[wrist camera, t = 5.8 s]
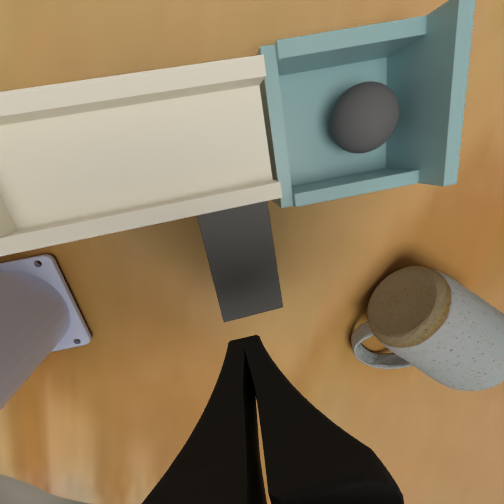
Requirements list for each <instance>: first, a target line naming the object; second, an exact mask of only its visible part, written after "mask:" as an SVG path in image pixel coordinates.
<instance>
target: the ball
mask: <svg viewBox="0 0 504 504" xmlns="http://www.w3.org/2000/svg"><path fill="white" fill-rule="evenodd" d="M399 114H400V108H399V103H398V99H397V97H396V95H395V94H394V92H393V91H392V90H391V89H390V88H389V87H387V86H386V85H384V84H382V83H379V82H373V81H369V82H362V83H359V84H356V85H354V86H352V87H351V88H349V89H348V90H346V91H345V92H344V93H343V94H342V95H341V96H340V97H339V99H338V100H337V102H336V103H335V105H334V107H333V109H332V112H331V116H330V131H331V135H332V137H333V139H334V141H335V142H336V144H337V145H338V146H339V147H341V148H342V149H343V150H345V151H348V152H350V153H358V154H360V153H367V152H370V151H373V150H375V149H377V148H379V147H380V146H381V145H383V144H384V143H385V142H386V141H387V140H388V139H389V138H390V137H391V135H392V134H393V132H394V130H395V128H396V126H397V124H398V120H399Z"/></svg>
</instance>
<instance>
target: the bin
mask: <svg viewBox="0 0 504 504" xmlns="http://www.w3.org/2000/svg"><path fill="white" fill-rule="evenodd" d="M474 9H475V0H449V1H447V2H446V3H444V4H443V5H441V6H440V7H439V8H437V9H436V10H434V11H433V12H431V13H430V14H428V15H426V16H420V17H414V18H408V19H402V20H396V21H390V22H384V23H378V24H372V25H366V26H360V27H354V28H348V29H342V30H336V31H330V32H323V33H317V34H311V35H305V36H299V37H293V38H287V39H281V40H277V41H276V43H275V44H273V45H267V46H261V47H260V48H259V51H258V54H257V55H263V54H264V61H265V69H266V77H265V78H264V80H263V81H262V82H261V84H260V85H259V86H260V93H261V100H262V108H263V115H264V122H265V129H266V136H267V143H268V150H269V157H270V165H271V172H272V179H273V180H275V181H279V182H280V183H281V191H282V198H278V199H273V200H272V201H274V202H275V203H276V204H277V205H278V206H280V207H281V208H285V207H290V206H295V207H299V206H304V205H309V204H314V203H319V202H324V201H330V200H335V199H340V198H345V197H350V196H355V195H360V194H365V193H370V192H375V191H380V190H385V189H390V188H396V187H401V186H406V185H411V184H416V183H422V184H430V185H438V186H447V185H452V184H457V176H458V166H459V156H460V146H461V137H462V127H463V117H464V107H465V97H466V87H467V78H468V68H469V58H470V48H471V38H472V28H473V18H474ZM369 81H373V82H379V83H382V84H384V85H386V86H387V87H389V88H390V89H391V90H392V91H393V92H394V94H395V95H396V97H397V99H398V103H399V108H400V114H399V120H398V124H397V126H396V128H395V130H394V132H393V134H392V135H391V137H390V138H389V139H388V140H387V141H386V142H385V143H384V144H383V145H381V146H380V147H379V148H377V149H375V150H373V151H370V152H367V153H360V154H358V153H350V152H348V151H345V150H343V149H342V148H341V147H339V146H338V145H337V144H336V142H335V141H334V139H333V137H332V135H331V131H330V116H331V112H332V109H333V107H334V105H335V103H336V102H337V100H338V99H339V97H340V96H341V95H342V94H343V93H344V92H345V91H346V90H348V89H349V88H351V87H352V86H354V85H356V84H359V83H362V82H369Z"/></svg>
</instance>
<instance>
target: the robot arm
mask: <svg viewBox="0 0 504 504" xmlns="http://www.w3.org/2000/svg"><path fill="white" fill-rule="evenodd" d="M37 260H38V261H40V262H41V263H42V265H40V264H39V263H38V262H37ZM77 339H79V340H80V341H78V340H77ZM91 339H92V337H91V334H90V332H89V330H88V328H87V326H86V324H85V322H84V320H83V318H82V315H81V313H80V311H79V309H78V307H77V305H76V303H75V301H74V299H73V297H72V294H71V292H70V290H69V288H68V286H67V284H66V282H65V280H64V278H63V276H62V273H61V271H60V269H59V267H58V265H57V263H56V261H55V259H54V258H53V257H52V256H51V255H48V254H44V255H39V256H34V257H29V258H24V259H19V260H14V261H9V262H4V263H0V410H1V409H2V408H3V407H4V405H5V404H6V403H7V402H8V401H9V400H10V398H11V397H12V396H13V395H14V394H15V393H16V392H17V390H18V389H19V388H20V387H21V386H22V385H23V383H24V382H25V381H26V380H27V379H28V378H29V377H30V375H31V374H32V373H33V372H34V371H35V370H36V368H37V367H38V366H39V365H40V364H41V363H42V362H43V360H44V359H45V358H46V357H47V356H48V355H49V353H50V352H54V351H58V350H63V349H67V348H72V347H77V346H81V345H86V344H88V343H89V342H90V341H91ZM256 399H257V404H258V411H259V418H260V426H261V433H262V441H263V449H264V458H265V466H266V475H267V484H268V493H269V497H270V501H271V504H404V500H403V495H402V493H401V491H400V489H399V487H398V485H397V484H396V482H395V481H394V479H393V478H392V476H391V475H390V473H389V472H388V470H387V469H386V467H385V466H384V465H383V463H382V462H381V461H380V459H379V458H378V457H377V456H376V454H375V453H374V452H373V451H372V449H370V448H369V447H367V446H366V445H364V444H363V443H361V442H360V441H358V440H357V439H355V438H354V437H352V436H351V435H350V434H348V433H347V432H345V431H344V430H343V429H341V428H340V427H339V426H337V425H336V424H335V423H333V422H332V421H331V420H330V419H328V418H327V417H326V416H325V415H324V414H322V413H321V412H320V411H319V410H318V409H316V408H315V407H314V406H313V405H312V404H311V403H310V402H309V401H308V400H307V399H306V398H305V397H303V396H302V395H301V393H300V392H299V391H298V390H297V389H296V388H295V387H294V386H293V385H292V384H291V383H290V382H289V381H288V379H287V378H286V377H285V376H284V375H283V373H282V372H281V371H280V370H279V368H278V367H277V366H276V364H275V363H274V361H273V360H272V359H271V357H270V356H269V354H268V353H267V351H266V349H265V348H264V346H263V344H262V342H261V339H260V336H258V335H254V336H250V337H245V338H241V339H237V340H232V341H230V342H229V343H228V348H227V352H226V356H225V360H224V363H223V366H222V369H221V372H220V375H219V378H218V380H217V383H216V385H215V388H214V390H213V392H212V395H211V397H210V399H209V402H208V404H207V406H206V408H205V410H204V412H203V414H202V416H201V418H200V420H199V421H198V423H197V425H196V427H195V428H194V430H193V432H192V434H191V435H190V437H189V439H188V440H187V442H186V444H185V445H184V447H183V448H182V450H181V451H180V453H179V454H178V456H177V457H176V458H175V460H174V461H173V463H172V464H171V466H170V467H169V469H168V470H167V472H166V473H165V474H164V476H163V477H162V478H161V480H160V481H159V482H158V484H157V485H156V486H155V487H154V489H153V490H152V491H151V492H150V494H149V495H148V496H147V498H146V499H145V500H144V501H143V503H142V504H267V501H266V495H265V488H264V481H263V475H262V468H261V461H260V452H259V438H258V424H257V410H256Z"/></svg>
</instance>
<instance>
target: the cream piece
mask: <svg viewBox="0 0 504 504" xmlns="http://www.w3.org/2000/svg"><path fill="white" fill-rule="evenodd" d="M265 77H266V69H265V61H264V54H263V55H256V56H249V57H242V58H235V59H228V60H221V61H214V62H207V63H200V64H193V65H186V66H179V67H172V68H165V69H158V70H151V71H144V72H137V73H130V74H123V75H116V76H109V77H102V78H95V79H88V80H81V81H74V82H67V83H60V84H53V85H46V86H39V87H32V88H25V89H17V90H10V91H3V92H0V256H5V255H10V254H14V253H19V252H24V251H29V250H33V249H38V248H43V247H48V246H53V245H57V244H62V243H67V242H72V241H77V240H81V239H86V238H91V237H96V236H101V235H105V234H110V233H115V232H120V231H125V230H129V229H134V228H139V227H144V226H149V225H153V224H158V223H163V222H168V221H172V220H177V219H182V218H187V217H192V216H196V215H197V218H198V222H199V226H200V230H201V234H202V238H203V242H204V245H205V249H206V253H207V257H208V261H209V265H210V269H211V273H212V277H213V281H214V285H215V289H216V293H217V297H218V301H219V305H220V309H221V313H222V317H223V321H224V322H227V321H231V320H235V319H239V318H243V317H247V316H251V315H255V314H258V313H262V312H266V311H270V310H274V309H278V308H282V307H283V303H282V297H281V290H280V284H279V277H278V271H277V264H276V257H275V251H274V244H273V238H272V231H271V225H270V218H269V211H268V205H267V201H268V200H273V199H278V198H282V191H281V183H280V182H279V181H275V180H273V179H272V172H271V165H270V157H269V150H268V143H267V136H266V129H265V122H264V115H263V108H262V100H261V93H260V86H259V85H260V84H261V82H262V81H263V80H264V78H265Z"/></svg>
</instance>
